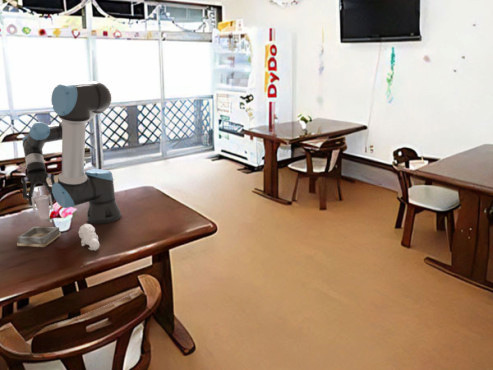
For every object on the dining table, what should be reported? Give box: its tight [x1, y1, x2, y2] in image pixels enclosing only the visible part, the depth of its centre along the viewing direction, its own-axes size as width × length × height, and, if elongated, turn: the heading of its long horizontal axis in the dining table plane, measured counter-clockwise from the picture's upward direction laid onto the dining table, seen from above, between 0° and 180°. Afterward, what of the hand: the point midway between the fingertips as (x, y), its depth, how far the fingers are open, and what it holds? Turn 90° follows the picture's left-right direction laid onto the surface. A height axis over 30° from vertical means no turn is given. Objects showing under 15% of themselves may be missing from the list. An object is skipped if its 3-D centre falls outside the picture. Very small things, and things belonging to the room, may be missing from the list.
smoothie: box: [33, 187, 50, 220], centre depth 185 cm, size 6×6×14 cm
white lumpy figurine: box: [78, 223, 101, 251], centre depth 167 cm, size 6×8×12 cm
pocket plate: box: [16, 225, 62, 248], centre depth 175 cm, size 12×12×4 cm
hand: (43, 209), depth 183 cm, fingers closed on smoothie, 6 cm apart
